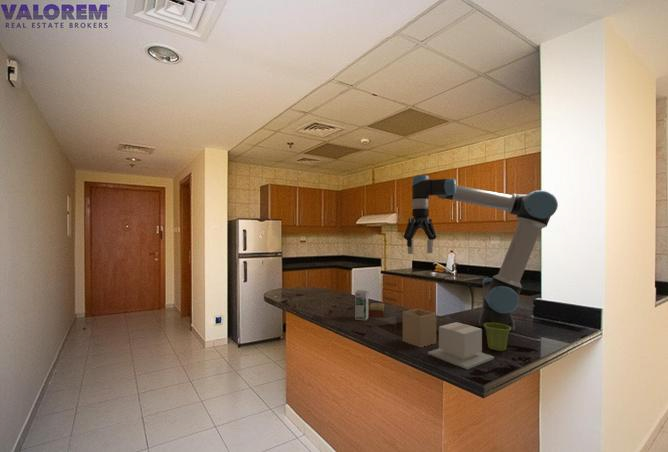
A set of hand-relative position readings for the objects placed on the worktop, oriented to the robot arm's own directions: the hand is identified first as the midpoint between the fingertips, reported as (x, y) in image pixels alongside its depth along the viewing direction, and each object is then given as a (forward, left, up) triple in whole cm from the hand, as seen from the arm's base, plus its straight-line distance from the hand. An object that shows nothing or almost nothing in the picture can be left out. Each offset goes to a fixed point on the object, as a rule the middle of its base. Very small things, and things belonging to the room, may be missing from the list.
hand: (420, 253), depth 152 cm
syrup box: (+29, -8, -35) cm, 46 cm away
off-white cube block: (-13, +33, -34) cm, 49 cm away
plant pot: (-28, +21, -35) cm, 49 cm away
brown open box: (+1, +21, -35) cm, 41 cm away
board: (-13, +33, -35) cm, 50 cm away
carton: (+23, -22, -35) cm, 48 cm away
